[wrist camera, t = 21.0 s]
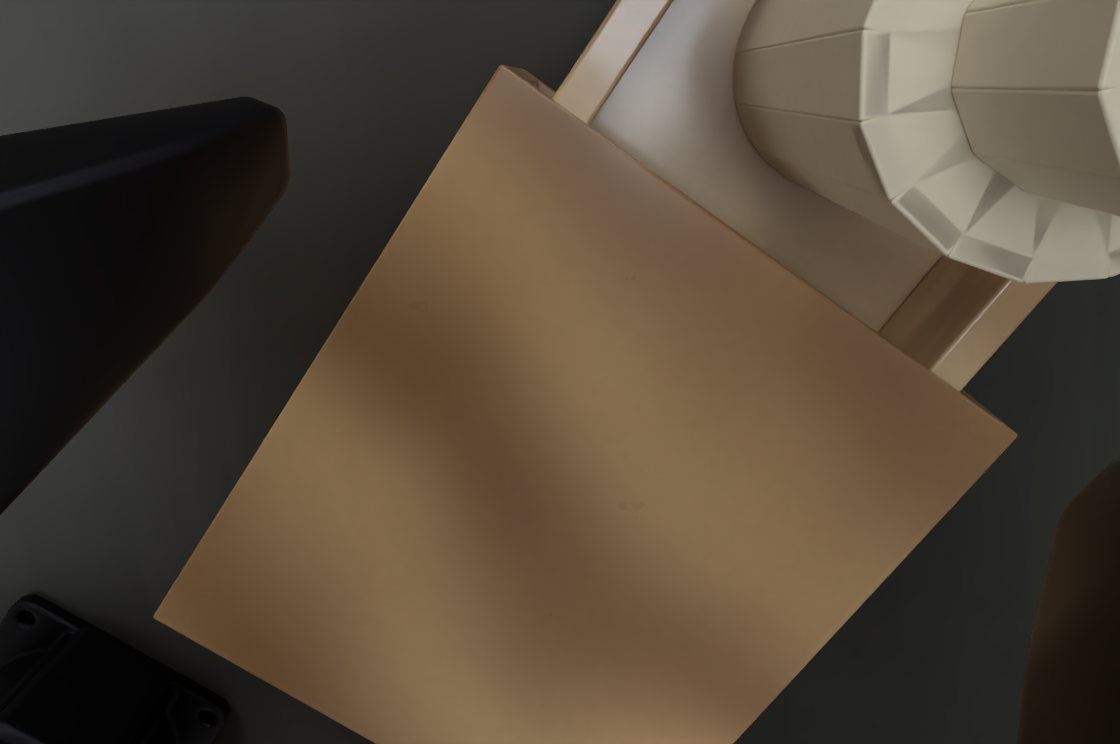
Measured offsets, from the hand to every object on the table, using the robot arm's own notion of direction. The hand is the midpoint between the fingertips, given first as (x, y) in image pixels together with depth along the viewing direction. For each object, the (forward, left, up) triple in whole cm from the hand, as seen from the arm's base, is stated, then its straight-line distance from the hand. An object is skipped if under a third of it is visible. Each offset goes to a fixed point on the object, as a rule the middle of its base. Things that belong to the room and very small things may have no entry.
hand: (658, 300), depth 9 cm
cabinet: (-6, -3, -12) cm, 14 cm away
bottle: (+5, -3, -10) cm, 12 cm away
